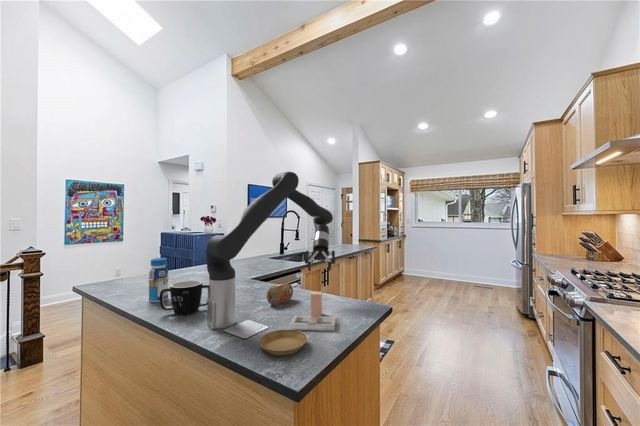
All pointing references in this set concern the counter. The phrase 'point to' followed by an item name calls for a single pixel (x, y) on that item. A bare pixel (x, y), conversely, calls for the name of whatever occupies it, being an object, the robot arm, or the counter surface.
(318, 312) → the peg
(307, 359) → the counter surface
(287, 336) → the plant saucer
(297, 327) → the grey flat frame
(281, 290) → the tin
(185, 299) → the mug
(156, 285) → the beverage bottle
